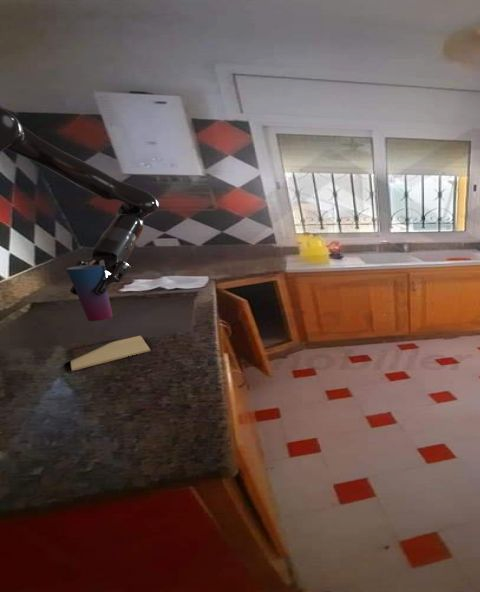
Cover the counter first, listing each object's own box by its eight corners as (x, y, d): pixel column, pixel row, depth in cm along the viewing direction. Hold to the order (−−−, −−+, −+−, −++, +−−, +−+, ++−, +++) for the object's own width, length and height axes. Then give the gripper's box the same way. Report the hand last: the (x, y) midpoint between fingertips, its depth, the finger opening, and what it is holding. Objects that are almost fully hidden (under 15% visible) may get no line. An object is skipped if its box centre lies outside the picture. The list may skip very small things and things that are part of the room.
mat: (71, 371, 83) (71, 369, 82) (70, 353, 93) (69, 351, 93) (150, 350, 94) (150, 349, 94) (141, 337, 104) (140, 335, 104)
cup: (80, 324, 86) (62, 270, 82) (86, 317, 91) (70, 266, 87) (114, 318, 90) (99, 267, 86) (118, 312, 95) (104, 263, 91)
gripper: (80, 237, 92) (46, 287, 84) (128, 237, 92) (98, 287, 83) (104, 253, 98) (74, 300, 90) (148, 253, 98) (123, 300, 90)
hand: (86, 293), depth 87 cm, fingers closed on cup, 6 cm apart
